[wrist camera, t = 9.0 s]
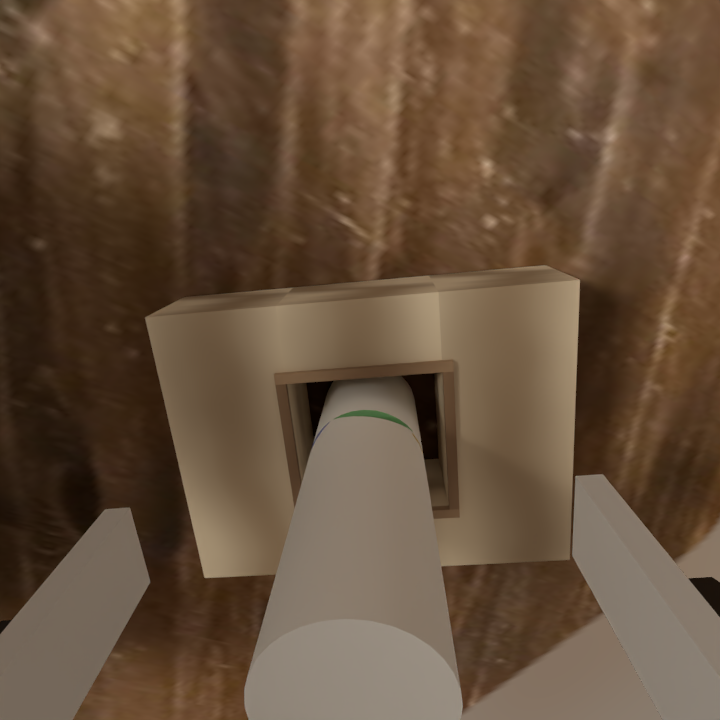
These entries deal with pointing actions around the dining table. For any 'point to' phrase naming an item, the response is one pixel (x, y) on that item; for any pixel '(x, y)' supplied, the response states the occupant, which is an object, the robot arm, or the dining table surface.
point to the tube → (359, 576)
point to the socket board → (369, 360)
